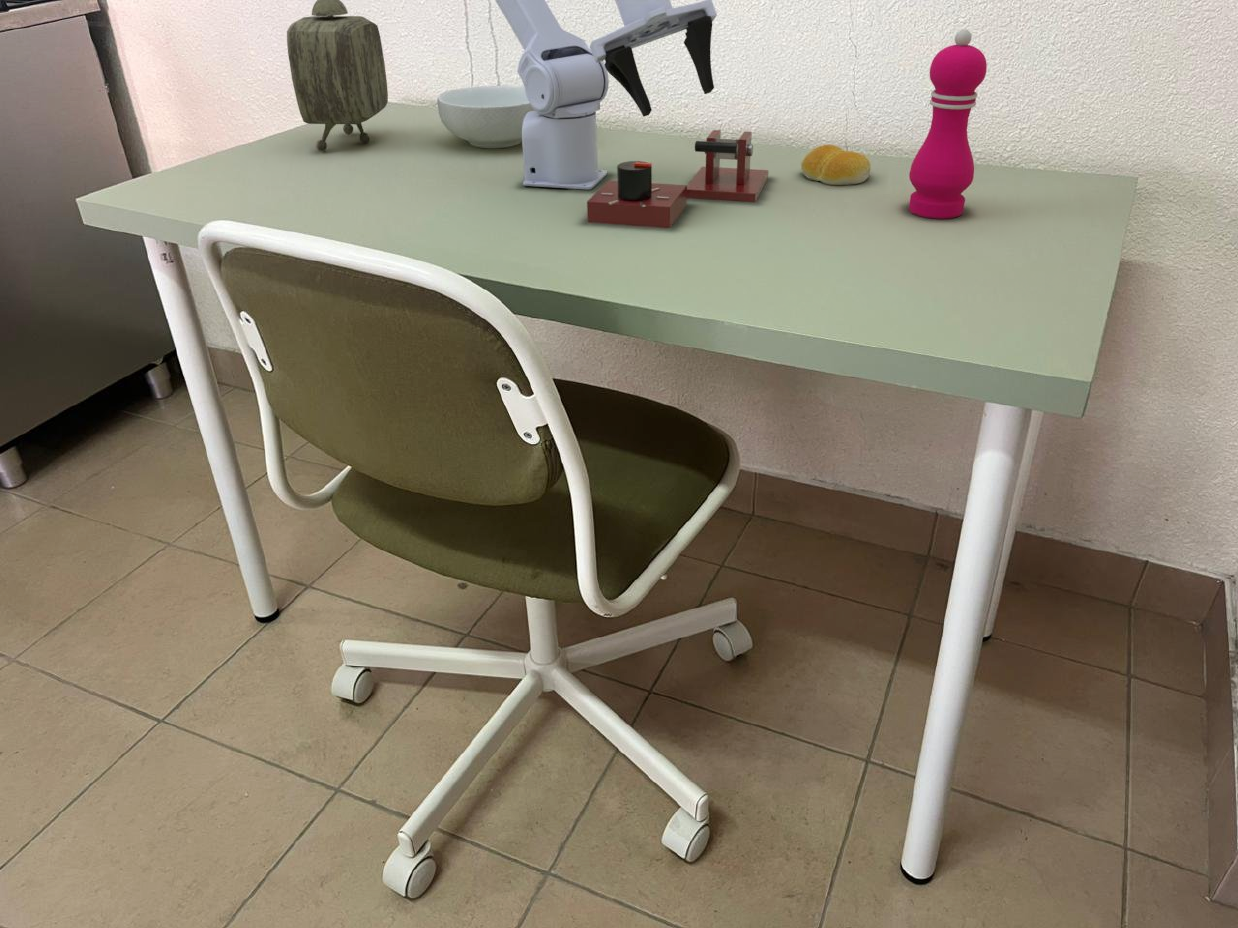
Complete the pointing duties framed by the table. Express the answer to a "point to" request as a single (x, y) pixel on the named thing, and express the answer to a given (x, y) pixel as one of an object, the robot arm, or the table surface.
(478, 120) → the cereal bowl
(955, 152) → the pepper mill
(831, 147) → the bread roll
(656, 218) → the panel
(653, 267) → the table surface
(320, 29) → the tabletop clock
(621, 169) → the knob
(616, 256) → the table surface
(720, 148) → the toaster lever
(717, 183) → the red lever base
